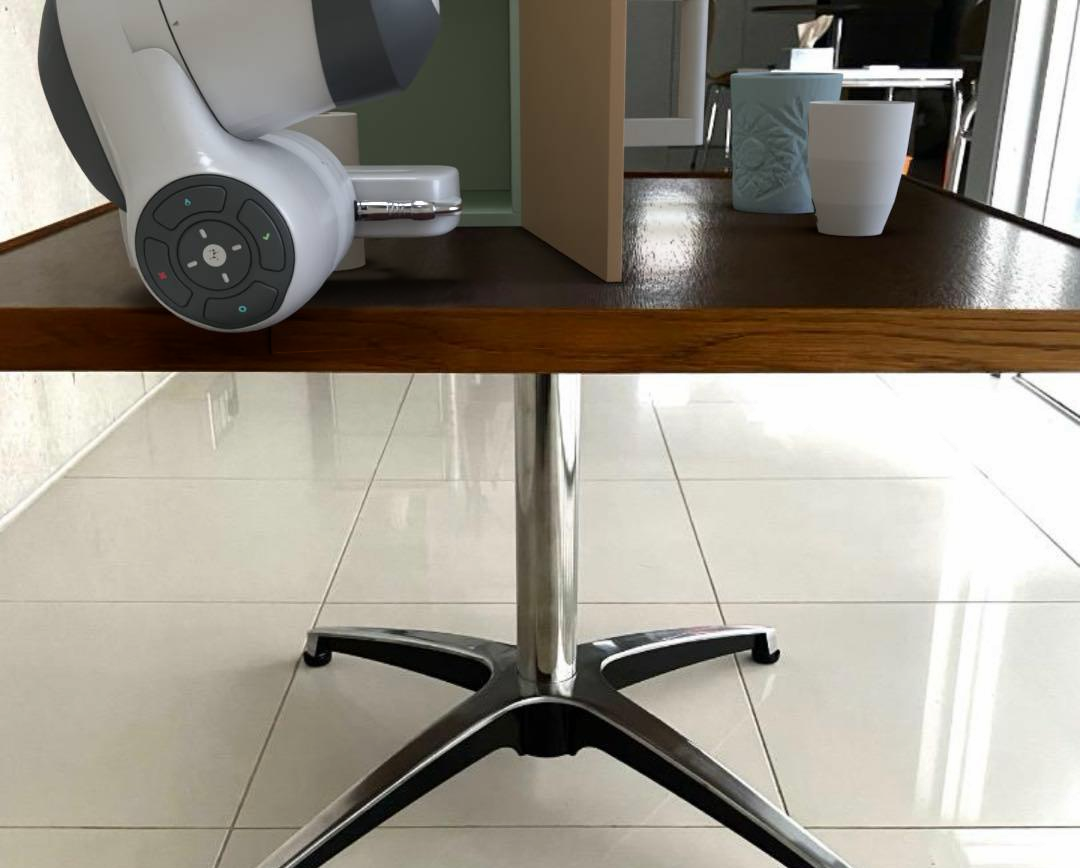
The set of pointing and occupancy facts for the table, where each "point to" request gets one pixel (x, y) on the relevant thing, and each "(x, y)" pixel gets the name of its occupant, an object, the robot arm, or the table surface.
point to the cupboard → (459, 111)
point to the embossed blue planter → (775, 138)
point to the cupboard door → (591, 121)
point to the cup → (856, 162)
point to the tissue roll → (343, 142)
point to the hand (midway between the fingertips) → (311, 187)
